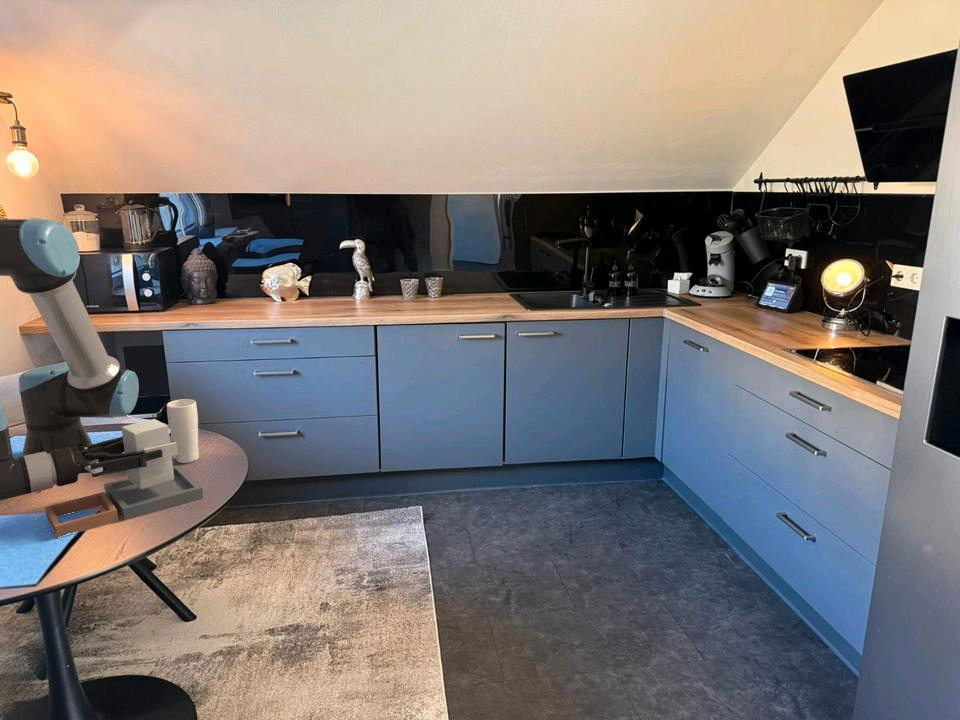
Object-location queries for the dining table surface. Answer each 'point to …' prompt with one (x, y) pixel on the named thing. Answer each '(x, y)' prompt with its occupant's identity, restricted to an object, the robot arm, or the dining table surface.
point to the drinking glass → (184, 428)
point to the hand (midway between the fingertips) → (170, 442)
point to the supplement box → (140, 439)
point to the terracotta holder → (84, 522)
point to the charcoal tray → (152, 494)
